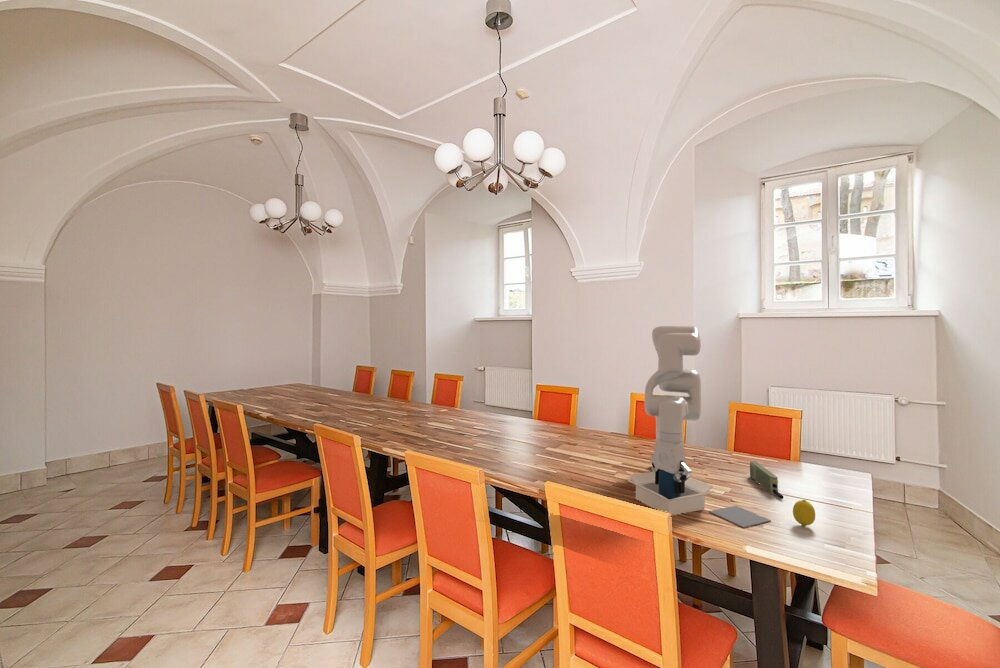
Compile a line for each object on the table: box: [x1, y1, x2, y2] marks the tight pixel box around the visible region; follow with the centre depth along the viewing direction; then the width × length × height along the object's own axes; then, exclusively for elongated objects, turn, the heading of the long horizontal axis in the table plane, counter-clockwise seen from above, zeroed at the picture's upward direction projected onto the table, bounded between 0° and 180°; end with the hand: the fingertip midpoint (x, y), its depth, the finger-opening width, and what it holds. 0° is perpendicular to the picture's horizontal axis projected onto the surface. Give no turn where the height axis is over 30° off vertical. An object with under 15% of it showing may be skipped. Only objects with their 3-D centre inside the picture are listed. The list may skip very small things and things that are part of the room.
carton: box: [627, 471, 715, 516], centre depth 146 cm, size 22×22×7 cm
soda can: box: [658, 470, 681, 500], centre depth 146 cm, size 7×7×12 cm
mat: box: [709, 505, 772, 529], centre depth 136 cm, size 12×12×1 cm
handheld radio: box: [749, 460, 784, 500], centre depth 163 cm, size 7×3×25 cm
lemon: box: [792, 499, 816, 527], centre depth 130 cm, size 6×6×8 cm
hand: (669, 488), depth 146 cm, fingers open, 8 cm apart
